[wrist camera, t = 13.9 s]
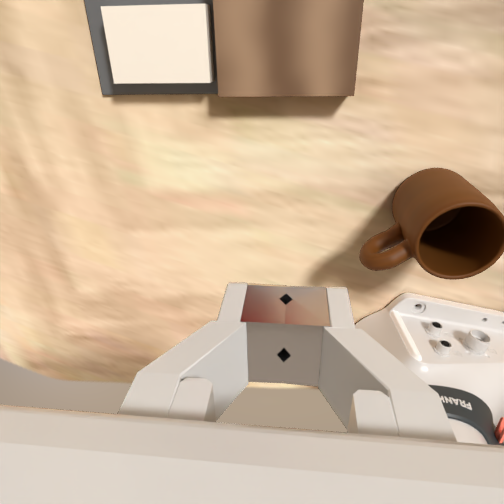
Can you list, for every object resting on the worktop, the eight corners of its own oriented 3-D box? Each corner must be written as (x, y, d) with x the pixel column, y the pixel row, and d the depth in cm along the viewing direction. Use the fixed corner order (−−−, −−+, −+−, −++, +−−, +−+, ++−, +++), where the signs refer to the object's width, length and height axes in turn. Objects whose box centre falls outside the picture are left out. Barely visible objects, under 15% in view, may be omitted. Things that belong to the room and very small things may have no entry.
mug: (362, 255, 44) (376, 306, 36) (339, 198, 41) (350, 238, 33) (474, 219, 40) (518, 265, 32) (459, 152, 37) (503, 185, 29)
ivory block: (210, 5, 33) (205, 3, 32) (214, 80, 36) (210, 82, 34) (110, 7, 34) (100, 6, 32) (122, 81, 37) (113, 83, 35)
